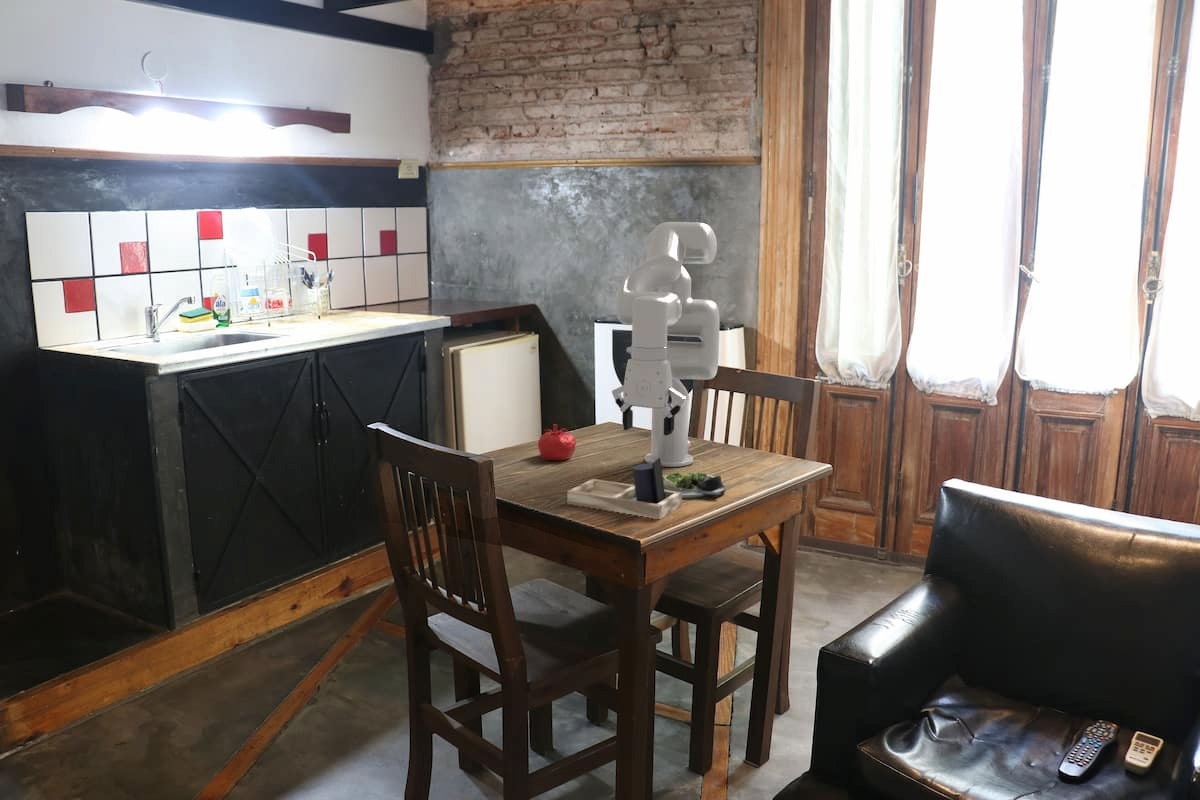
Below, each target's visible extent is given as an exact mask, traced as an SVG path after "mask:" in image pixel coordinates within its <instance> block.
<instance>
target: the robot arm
mask: <svg viewBox="0 0 1200 800" xmlns="http://www.w3.org/2000/svg"><path fill="white" fill-rule="evenodd" d="M646 248H647V254H646V260H645V261H644V262H642V263H640V264H638V265H637V266H635V267H634V268H633V269H632V270H630V271H629V272H628V273H627V274H626V275H625V276H624V277H623V279H622V281H621V282H620V287H619V290H618V293H617V299H616V305H615V315H616V318H617V320H618V321H619V322H620V323H621V324H622V325H626V326H631V344H630V346H628V347H626V353H627V354H629V355H630V357H631V358H629V359H628V360H627V364H626V368H625V372H624V373H625V374H624V381H623V385H622V386H619V387H616V388H615V389H612V390H611V393H612V397H613V399H614V400H615V403H616V405H617V406H618V408H620V409H619V410H620V412H622V420H621V421H622V425H623V431H628V430H630V429H632V428H633V424H634V420H633V419H634V411H633V409H632V408H633V407H638V408H639V407H640V408H645V409H646V408H648V409H651V436H650V437H651V438H650V439H651V441H650V442H651V445H650V448H651V449H650V451H651V452H650V453H647V454H646V455H645V456H644V460H645V462H646V464H647V463H653V462H654V461H656V460H657V459H658V458H660V461H661V467H664V468H665V467H667V468H675V467H676V468H677V467H686V466H689V465H691V464H693V463H694V457H693V456H692V454H689V452H688V449H689V448H690V447H691V446H692V444H691V442H690V440H689V420H690V419H689V416H690V415H689V414H690V413H689V412H690V411H689V410H690V397H689V396H690V395H689V391H688V390H687V389H686V386H684V384H683V383H682V381H680V380H698V381H700V380H702V381H704V380H712V379H714V378H715V376H716V375H717V373H718V369H719V353H720V352H719V350H720V348H719V347H720V326H721V325H720V321H721V320H720V310H719V307H718V304H716V302H714V301H713V300H710V299H699V298H696V299H695V298H692V278H691V276H690V274H689V272H688V271H687V270H686V268H685V267H684V266H683V264H687V265H688V264H690V265H693V264H694V265H695V264H696V265H697V264H698V265H708V264H711V263H713V261H714V259H715V257H716V255H717V250H718V241H717V237H716V234H715V232H714V231H713V229H712V227H711V226H710V225H708V224H706V223H703V222H697V221H696V222H695V221H693V222H692V221H689V222H688V221H687V222H686V221H666V222H662V223H659V224H657V226H655V227H654V229H653V230H652V231H650V233H648V235H647V238H646ZM653 290H657V291H653ZM668 336H670V337H671V336H672V337H673V336H674V337H693V338H694V337H695V338H698V339H700V340H701V341H700V342H697V341H680V340H679V341H678V340H677V341H676V340H669V341H668ZM622 394H623V395H622Z"/></svg>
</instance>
